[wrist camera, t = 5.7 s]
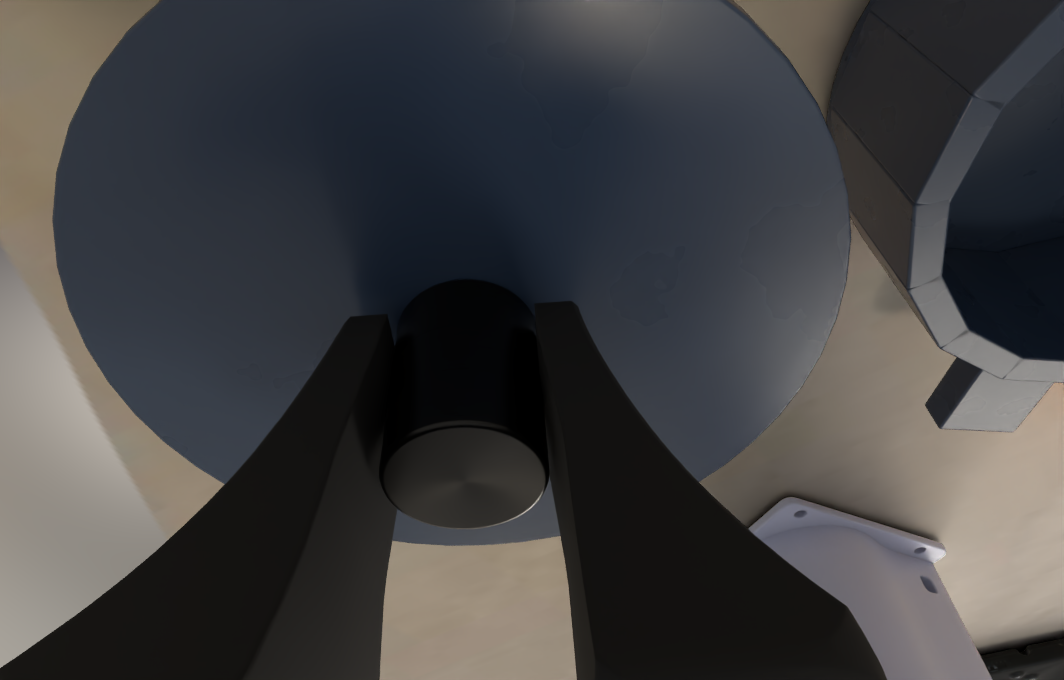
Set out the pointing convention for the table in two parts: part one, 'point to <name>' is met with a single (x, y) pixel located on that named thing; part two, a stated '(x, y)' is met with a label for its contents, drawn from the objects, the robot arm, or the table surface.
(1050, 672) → the game console
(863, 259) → the table surface
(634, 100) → the lid
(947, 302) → the pot
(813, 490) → the table surface
